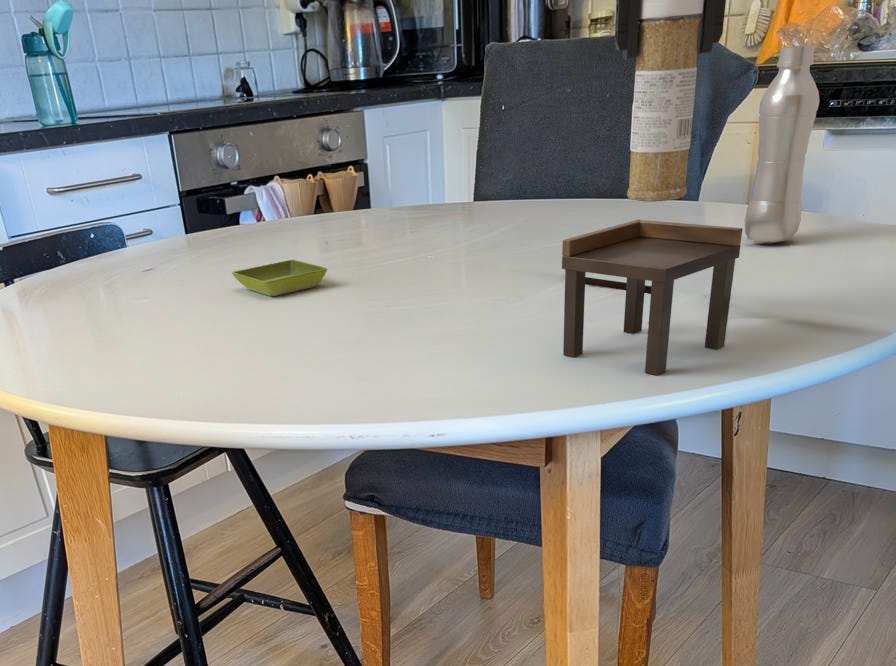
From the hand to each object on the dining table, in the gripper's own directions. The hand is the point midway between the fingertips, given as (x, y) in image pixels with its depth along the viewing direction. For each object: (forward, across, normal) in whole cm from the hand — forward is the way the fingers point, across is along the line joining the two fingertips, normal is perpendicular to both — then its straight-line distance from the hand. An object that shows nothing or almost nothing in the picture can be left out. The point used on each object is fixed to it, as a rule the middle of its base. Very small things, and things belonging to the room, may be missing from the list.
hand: (666, 54), depth 63 cm
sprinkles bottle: (+10, 0, 0) cm, 10 cm away
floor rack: (+21, +4, +27) cm, 34 cm away
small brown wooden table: (+21, 0, 0) cm, 21 cm away
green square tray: (+21, -38, +33) cm, 55 cm away
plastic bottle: (+21, +22, +42) cm, 52 cm away
